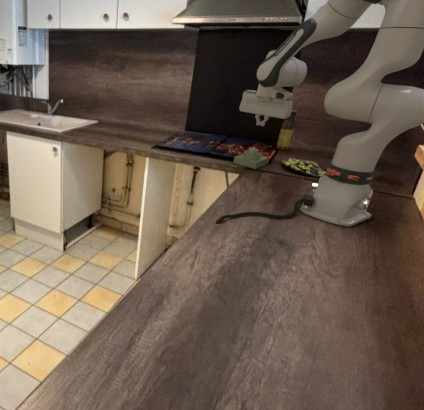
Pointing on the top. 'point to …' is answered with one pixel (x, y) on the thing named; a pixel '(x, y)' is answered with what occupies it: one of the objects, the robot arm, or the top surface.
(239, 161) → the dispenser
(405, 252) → the top surface
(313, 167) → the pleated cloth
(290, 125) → the sauce bottle
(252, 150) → the pump
